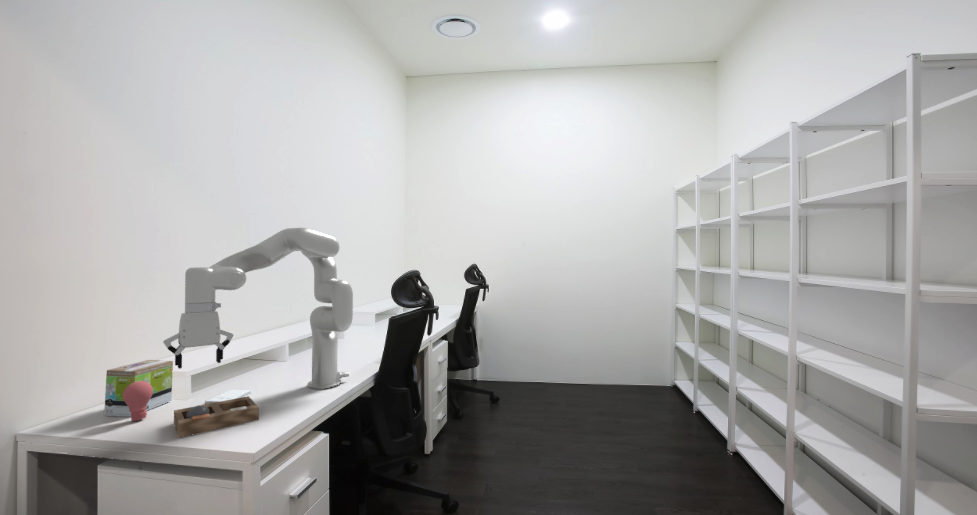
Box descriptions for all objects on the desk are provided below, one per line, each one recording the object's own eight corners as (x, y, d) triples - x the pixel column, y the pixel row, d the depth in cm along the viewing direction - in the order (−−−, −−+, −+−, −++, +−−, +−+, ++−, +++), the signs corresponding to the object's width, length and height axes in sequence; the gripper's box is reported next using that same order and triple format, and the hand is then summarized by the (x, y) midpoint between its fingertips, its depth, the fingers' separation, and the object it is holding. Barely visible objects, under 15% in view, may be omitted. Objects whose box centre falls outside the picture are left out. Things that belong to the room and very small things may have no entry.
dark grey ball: (208, 420, 127) (208, 400, 127) (211, 425, 122) (211, 406, 122) (184, 425, 123) (184, 405, 123) (187, 431, 118) (187, 411, 118)
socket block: (248, 408, 137) (248, 395, 138) (258, 419, 128) (258, 405, 128) (173, 423, 124) (173, 409, 124) (178, 437, 114) (179, 422, 114)
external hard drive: (250, 394, 153) (227, 406, 141) (229, 393, 153) (204, 405, 141) (250, 390, 153) (227, 401, 141) (229, 389, 154) (204, 400, 141)
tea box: (133, 417, 128) (134, 370, 129) (103, 416, 129) (104, 369, 129) (173, 401, 144) (173, 359, 144) (146, 400, 144) (146, 358, 144)
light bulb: (116, 422, 124) (117, 383, 124) (143, 414, 131) (144, 377, 131) (131, 426, 121) (131, 386, 122) (157, 418, 128) (158, 379, 128)
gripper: (230, 305, 132) (230, 358, 132) (162, 309, 120) (161, 367, 120) (236, 307, 126) (235, 362, 126) (165, 311, 114) (164, 372, 114)
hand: (199, 364), depth 123 cm, fingers open, 9 cm apart
